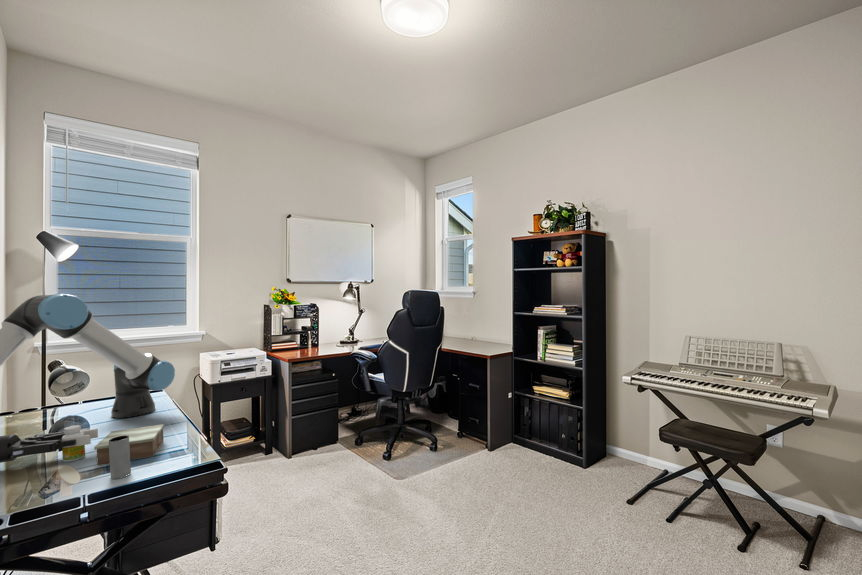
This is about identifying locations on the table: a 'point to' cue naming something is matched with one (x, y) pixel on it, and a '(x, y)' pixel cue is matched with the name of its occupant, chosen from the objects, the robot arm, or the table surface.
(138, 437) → the podium
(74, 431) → the supplement bottle
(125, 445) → the grey hollow cylinder
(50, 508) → the table surface
